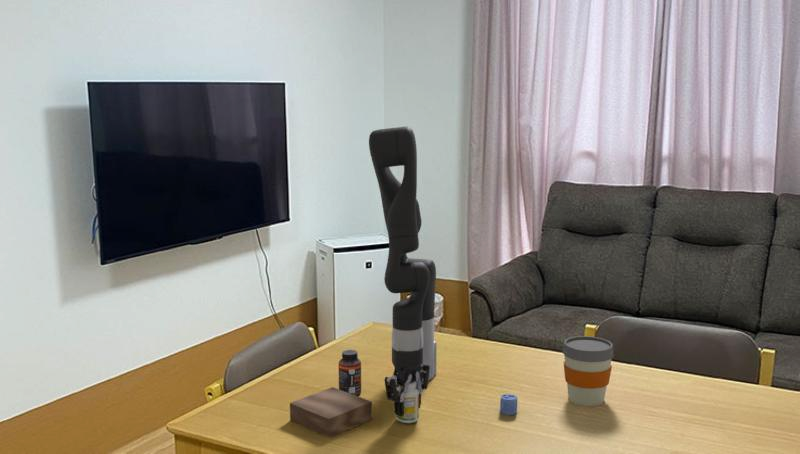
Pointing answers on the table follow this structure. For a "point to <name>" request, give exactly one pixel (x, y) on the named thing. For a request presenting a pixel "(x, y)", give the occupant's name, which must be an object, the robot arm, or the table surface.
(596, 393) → the reusable coffee cup
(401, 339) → the robot arm
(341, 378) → the supplement bottle
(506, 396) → the decorative dice
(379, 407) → the table surface
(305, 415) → the walnut stand
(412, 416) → the supplement bottle
